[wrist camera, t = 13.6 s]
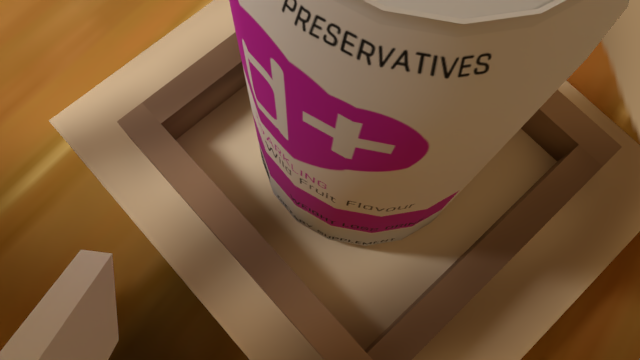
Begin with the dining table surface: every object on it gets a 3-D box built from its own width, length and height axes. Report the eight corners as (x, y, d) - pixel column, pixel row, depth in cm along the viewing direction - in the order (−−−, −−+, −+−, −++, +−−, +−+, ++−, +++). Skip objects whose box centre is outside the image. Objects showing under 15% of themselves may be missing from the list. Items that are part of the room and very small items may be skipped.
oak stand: (63, 134, 25) (26, 100, 22) (353, -82, 29) (360, -138, 26) (373, 502, 21) (386, 529, 18) (662, 193, 25) (716, 168, 22)
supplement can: (352, 291, 22) (442, 167, 8) (224, 138, 24) (105, -193, 9) (497, 166, 24) (791, -123, 9) (368, 32, 26) (452, -382, 11)
